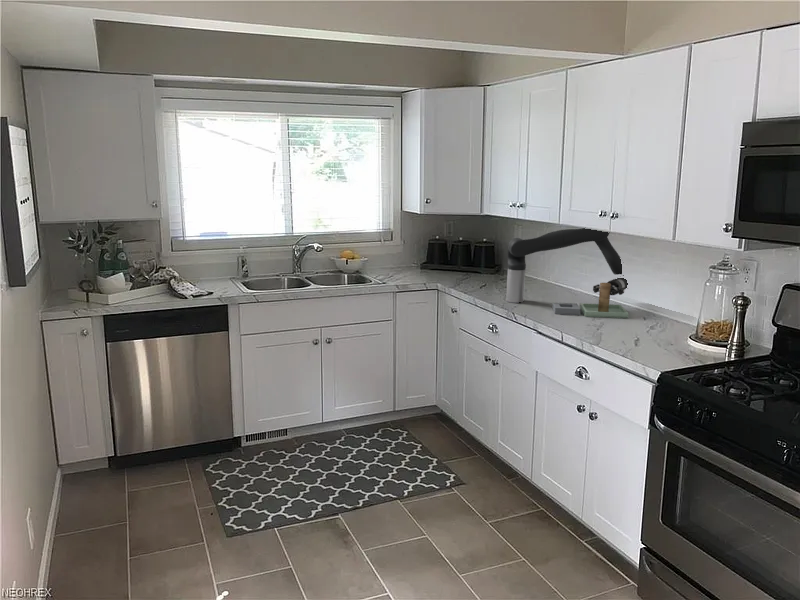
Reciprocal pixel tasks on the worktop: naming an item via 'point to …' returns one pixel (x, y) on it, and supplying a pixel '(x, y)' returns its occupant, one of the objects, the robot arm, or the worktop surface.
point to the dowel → (604, 297)
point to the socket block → (566, 308)
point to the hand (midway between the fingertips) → (603, 291)
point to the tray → (614, 312)
